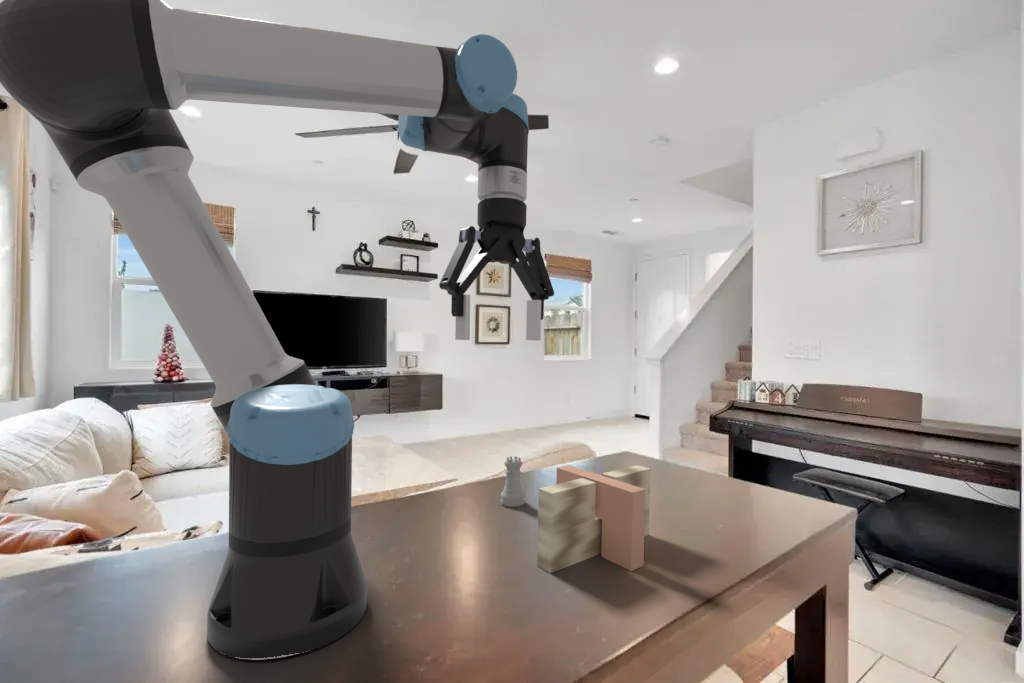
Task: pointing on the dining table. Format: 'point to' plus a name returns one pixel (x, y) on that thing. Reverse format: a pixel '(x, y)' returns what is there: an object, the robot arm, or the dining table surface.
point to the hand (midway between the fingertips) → (499, 340)
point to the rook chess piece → (513, 484)
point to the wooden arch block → (615, 516)
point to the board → (578, 518)
